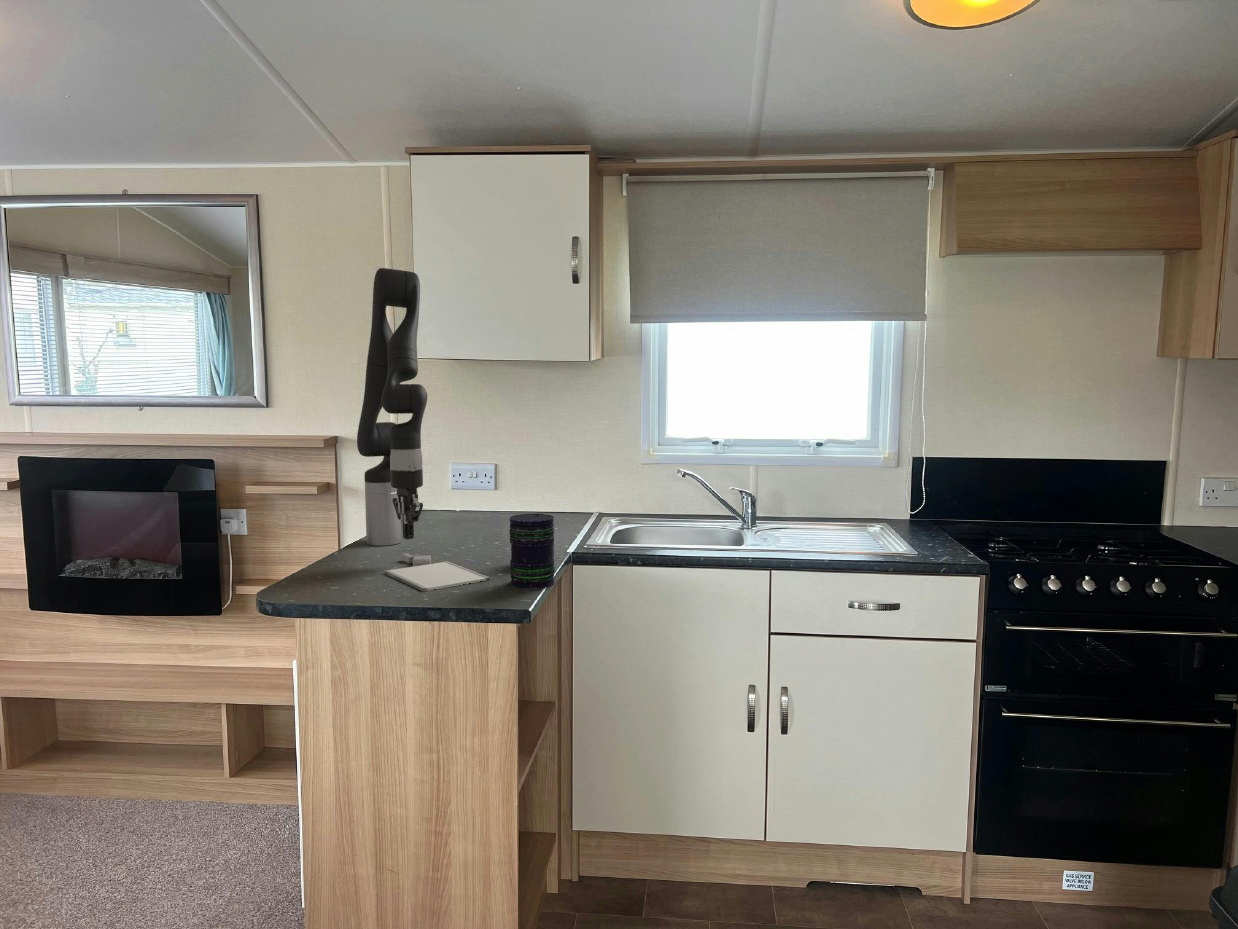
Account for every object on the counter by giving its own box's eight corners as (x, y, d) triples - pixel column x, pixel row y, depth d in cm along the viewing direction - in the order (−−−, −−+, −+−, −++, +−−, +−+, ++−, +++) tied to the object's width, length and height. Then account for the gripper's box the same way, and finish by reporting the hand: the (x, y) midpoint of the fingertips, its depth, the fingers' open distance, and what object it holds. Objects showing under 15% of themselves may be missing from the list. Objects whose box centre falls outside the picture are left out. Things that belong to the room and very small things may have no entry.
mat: (384, 573, 194) (384, 570, 194) (447, 564, 204) (447, 561, 204) (423, 591, 178) (423, 588, 178) (489, 580, 188) (489, 577, 188)
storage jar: (542, 591, 178) (541, 522, 177) (501, 587, 182) (500, 519, 180) (562, 580, 188) (561, 515, 186) (523, 577, 191) (522, 512, 190)
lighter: (430, 566, 202) (431, 559, 210) (430, 559, 202) (431, 552, 210) (400, 567, 201) (402, 560, 208) (400, 560, 201) (401, 553, 208)
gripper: (380, 466, 203) (382, 536, 205) (402, 470, 193) (405, 544, 194) (409, 464, 208) (411, 533, 209) (433, 468, 197) (434, 540, 199)
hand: (408, 538), depth 202 cm, fingers closed
